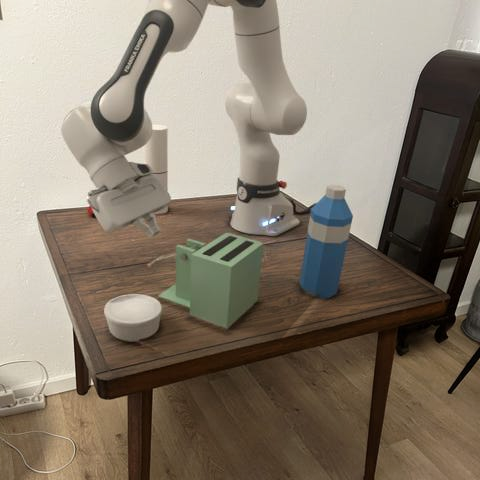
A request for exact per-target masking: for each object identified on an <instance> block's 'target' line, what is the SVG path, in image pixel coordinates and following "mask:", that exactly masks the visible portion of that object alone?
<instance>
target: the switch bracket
mask: <svg viewBox="0 0 480 480" xmlns="http://www.w3.org/2000/svg"><path fill="white" fill-rule="evenodd" d="M196 244H197V246H198V249H201V248H202V247H204V246H206V245H207V243H205V242H202V241H200V240H195V239H193V238H188V239H186V246H185V245H181V244H177V245H176V246H175V254H176V260H175V283H174V284H173V285H171V286H170V287H169V288H167V289H165V290H164V291H162V292H161V293H159V294H158V295H157V297H158V298H161V299H164V300H166V301H169V302H172V303H175V304H176V305H177V304H178V305H180V306H183V307H186V308H188V309H190V287H191V254H193V253H194V252H196V250H195V249H191V248H188V247H189V246H192V245H196Z"/></svg>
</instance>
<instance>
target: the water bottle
mask: <svg viewBox="0 0 480 480" xmlns="http://www.w3.org/2000/svg"><path fill="white" fill-rule="evenodd" d="M346 193H347V188H345V186H343V185H339V184H328V185H327V186H326V189H325V194H324V195H323V197H321V198H320V199H319V201H317V202H315V203H316V204H315V203H314V204H315V205H314V206H313V207H312V208H311V209H310V214H309V215H310V216H309V220H308V227H307V232H306V240H305V245H304V251H303V257H302V264H301V271H300V275H299V282H298V284H299V285H300V286H301V289H302V290H303V291H306V292H309V293H310V294H313V295H317V296H316V297H315V298H316V299H330V298H332V297H333V296H334V295H337V294H338V291H339V285H340V280H341V276H342V271H343V266H344V261H345V256H346V251H347V247H348V242H349V237H350V232H351V227H352V223H353V219H354V215H353V213H352V211H351V209H350V207H349V204H348V203H347V200H346V198H345V197H346Z"/></svg>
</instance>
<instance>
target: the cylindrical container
mask: <svg viewBox="0 0 480 480" xmlns="http://www.w3.org/2000/svg"><path fill="white" fill-rule="evenodd" d="M168 158H169V157H168V126H166V125H163V124H155V123H152V134H151V137H150V139H149V141H148V142H147V143H146V144H145V145H144V146H143V147H142V161H143V163H142V164H148V165H149V166H150V167H151V168H152V170H153V172H152V173H151V175H154V176H156V177H157V178H158V179H159V180H160V181H161V183H162V184H163V186H164V187H165V188H166V190H167V191H168V187H169V185H168V184H169V182H168V179H169V178H168V177H169V176H168V173H169V171H168V170H169V169H168V168H169V167H168V166H169V165H168V164H169V163H168ZM168 192H169V191H168ZM168 207H169V205H168V206H166V207H165V208H164V209H162V210H160V211H158V212H156V213H154V214H155V215H163V214H166V213H168V211H169V210H168V209H169V208H168Z"/></svg>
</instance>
